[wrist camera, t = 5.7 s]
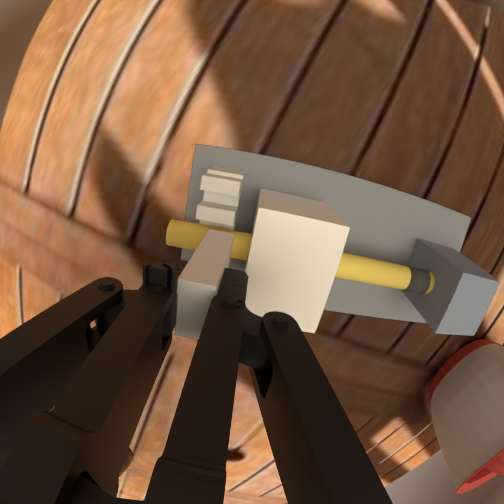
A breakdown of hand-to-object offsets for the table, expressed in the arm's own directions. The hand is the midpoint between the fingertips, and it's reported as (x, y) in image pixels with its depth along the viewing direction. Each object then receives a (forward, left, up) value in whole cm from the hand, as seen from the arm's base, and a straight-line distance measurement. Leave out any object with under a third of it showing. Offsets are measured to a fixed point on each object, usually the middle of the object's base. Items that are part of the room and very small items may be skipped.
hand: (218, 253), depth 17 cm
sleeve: (+4, 0, -6) cm, 7 cm away
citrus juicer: (+34, -13, -7) cm, 37 cm away
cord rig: (+9, 0, -7) cm, 11 cm away
